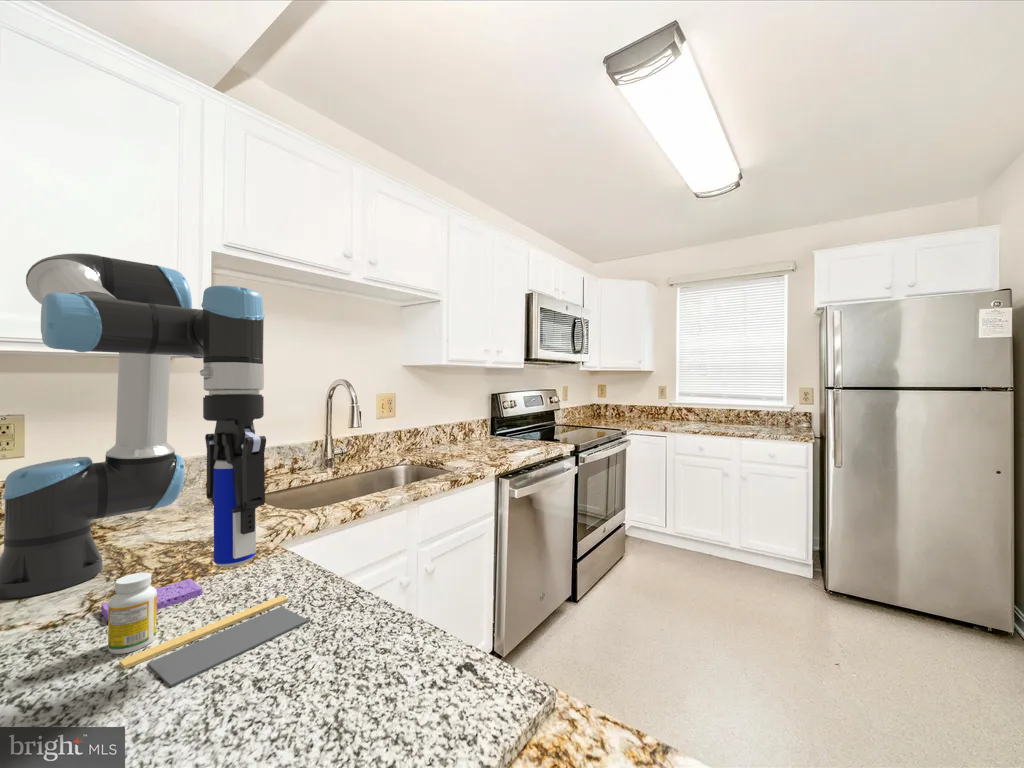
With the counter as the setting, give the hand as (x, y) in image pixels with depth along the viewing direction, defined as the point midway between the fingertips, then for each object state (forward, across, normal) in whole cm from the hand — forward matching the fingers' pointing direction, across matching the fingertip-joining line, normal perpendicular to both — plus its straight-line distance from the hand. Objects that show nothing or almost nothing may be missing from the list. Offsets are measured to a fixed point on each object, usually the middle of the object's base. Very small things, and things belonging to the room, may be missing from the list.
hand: (234, 550), depth 63 cm
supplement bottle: (+13, -12, -8) cm, 20 cm away
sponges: (+14, -25, -2) cm, 29 cm away
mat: (+13, 0, 0) cm, 13 cm away
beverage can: (+2, 0, 0) cm, 2 cm away
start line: (+13, -7, 0) cm, 15 cm away
